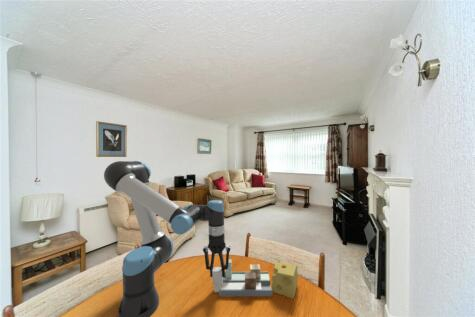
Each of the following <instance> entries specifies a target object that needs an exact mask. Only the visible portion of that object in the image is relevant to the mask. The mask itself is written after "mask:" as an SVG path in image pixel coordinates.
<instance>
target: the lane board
mask: <svg viewBox="0 0 475 317" xmlns="http://www.w3.org/2000/svg"><path fill="white" fill-rule="evenodd" d="M245 273H250V271H232V274H245ZM260 274H269V271H267V270H265V271H260ZM223 283H245V280H226V271H225V276H224V277H223ZM256 283H261V289H220V290H219V292H218V293H219V297H273V292H272V284H271V279H270V280H256Z"/></svg>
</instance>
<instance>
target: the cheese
mask: <svg viewBox="0 0 475 317" xmlns="http://www.w3.org/2000/svg"><path fill="white" fill-rule="evenodd" d="M271 281H272V283H271V289H272V293H274V294H277V295H282V296H285V297H287V298H291V299H294V298H295V296H296V292H297V287H298V284H299V282H298V265H296V264H293V263H289V262H283V261H280V260H277V261H276V263H275V265H274V266H273V273H272V276H271Z"/></svg>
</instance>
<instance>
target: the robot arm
mask: <svg viewBox="0 0 475 317" xmlns="http://www.w3.org/2000/svg"><path fill="white" fill-rule="evenodd" d="M151 174H152V172H151V169H150V167H149V165H148V164H147V163H145V162H142V161H138V160H133V161H131V160H130V161H129V160H128V161H126V160H125V161H122V160H120V161H119V160H118V161H114V162H112V163H110V164H108V166H107V167H106V168H105V170H104V173H103V178H104V181H105V183H106V184H107V186H108V187H110V188H111V189H112V190H113V191H115V193H118V194H120V193H121V194H122V193H123V194H125V195H126V196H127V197H128V198H130V201H131V203H132V207H133V210H134V213H135V217H136V220H137V225H138V227H139V230H140V233H141V238H142V240H141V242H140V246H139V247H137V248H134V249H132V250H131V251H129V252H128V253H127V254H126V255H125V257H124V258H123V261H122V266H121V270H122V297H121V300H120V303H119V306H118V308H117V317H150V316H152V315H153V314H154V313H155V312H156V311H157V309H158V307H159V305H160V296H159V293H158V291H157V288H156V285H155V273H156V272H157V271H158V270H159V269H160V268H161V267H162V266H163V265H164V264H165V262H166V263H167V261H168V260H169V259H170V257H171V255H172V254H173V252H174V242H173V240H172V238H170V237H169V236H167V235H166V233H165V232H164V231H162V230H161V228H160V227H161V226H160V223H159V220H158V217H159V218H161V219H162V220H164V221H165V222H167V223H169V224H170V229H171V230H172V232H173V233H174V234H176V235H184V234H186V233H187V232H189V231H191V229H192V228H193V227H194V226H195V225H196V224H197V223H198V222H207V223H208V226H207V227H208V244H207V245H204V247H203V248H202V251H203V253H204V260H205V261H204V262H205V269H206V270H209V276H210V278H212V286H214V269H215V267H214V263H215V256H216V255H218V256H219V261H220V267H221V270H220V282H221V285H222V283H223V277H224V276H225V272H226V271H225V269H228V264H229V259H230V251H231V248H232V247H231V245H227V244H226V240H225V237H226V236H225V209H224V202H223V201H222V200H221V199H220V200H219V199H213V200H209V201H208V203H207V204H187V205H184V207H181V206H180V205H178V204H177V203H175V202H173V201H172V200H170V199H169V198H168V197H165V196H164V195H163V194H161V193H160V192H158V191H156V190H155V189H154V188H152V187H150V186H149V185H150V178H151ZM157 216H158V217H157ZM224 250H225V252H226V253H225V254H226V255H225V261H224V255H223V253H224ZM209 251H210V252H211V254H210V255H211V258H210V259H209ZM225 262H226V265H225Z"/></svg>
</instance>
